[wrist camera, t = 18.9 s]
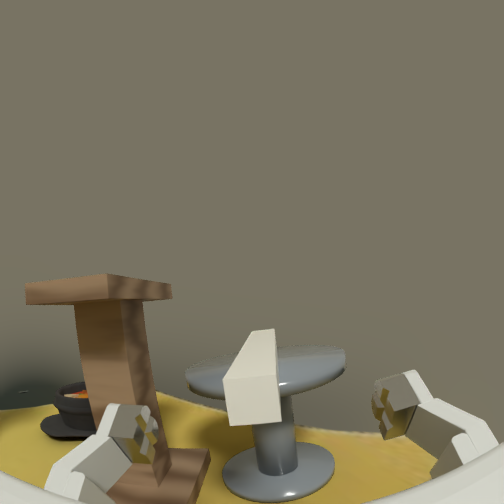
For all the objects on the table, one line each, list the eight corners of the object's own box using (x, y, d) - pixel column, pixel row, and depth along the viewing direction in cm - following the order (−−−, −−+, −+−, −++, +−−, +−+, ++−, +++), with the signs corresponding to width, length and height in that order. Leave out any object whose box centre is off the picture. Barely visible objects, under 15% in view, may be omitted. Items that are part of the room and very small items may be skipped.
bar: (281, 421, 15) (275, 374, 16) (229, 425, 16) (222, 379, 16) (277, 350, 39) (274, 328, 40) (254, 352, 39) (251, 331, 40)
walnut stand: (184, 533, 19) (128, 270, 22) (69, 509, 19) (12, 285, 23) (211, 456, 36) (184, 282, 40) (126, 452, 37) (96, 291, 41)
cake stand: (179, 479, 30) (155, 371, 32) (268, 433, 43) (257, 345, 45) (295, 532, 18) (280, 395, 20) (372, 449, 31) (368, 342, 34)
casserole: (136, 405, 61) (130, 372, 63) (175, 426, 49) (167, 386, 50) (38, 421, 44) (29, 385, 45) (50, 455, 31) (35, 409, 32)
